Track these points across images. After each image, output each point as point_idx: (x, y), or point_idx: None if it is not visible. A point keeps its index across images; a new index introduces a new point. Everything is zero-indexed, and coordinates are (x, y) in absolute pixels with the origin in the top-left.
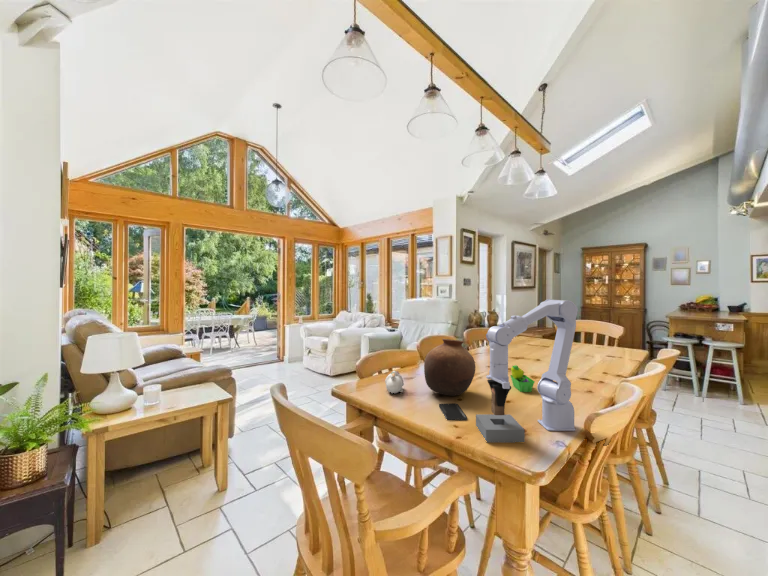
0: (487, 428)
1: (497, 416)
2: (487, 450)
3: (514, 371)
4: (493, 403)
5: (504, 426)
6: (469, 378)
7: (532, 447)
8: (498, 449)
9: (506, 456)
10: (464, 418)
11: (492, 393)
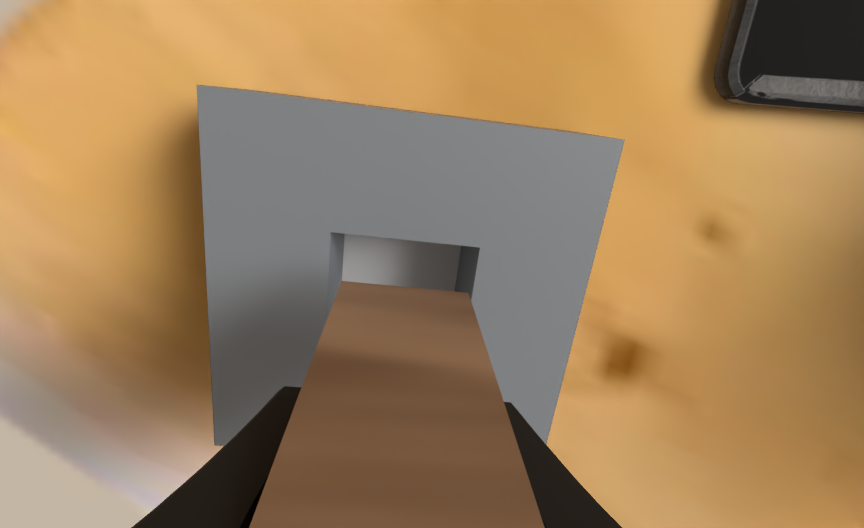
0: (228, 115)
1: (520, 343)
2: (95, 37)
3: None
4: (382, 358)
5: (282, 313)
6: None
7: (183, 395)
8: (126, 145)
9: (13, 159)
10: (728, 62)
11: (456, 501)
